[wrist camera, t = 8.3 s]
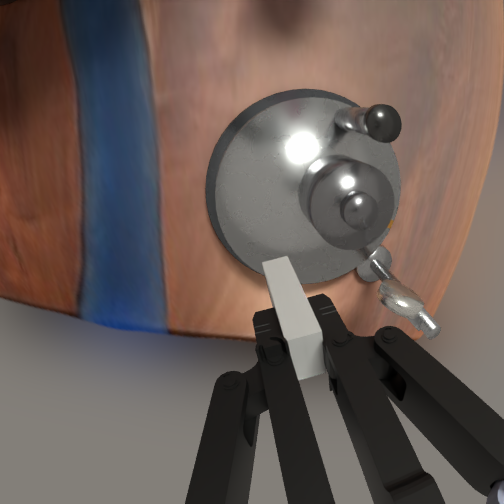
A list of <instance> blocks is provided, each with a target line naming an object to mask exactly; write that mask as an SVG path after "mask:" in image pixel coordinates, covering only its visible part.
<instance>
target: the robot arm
mask: <svg viewBox="0 0 504 504" xmlns="http://www.w3.org/2000/svg"><path fill="white" fill-rule="evenodd" d="M14 1H16V0H0V5H5V4H9V3H12V2H14ZM262 265H263V269H264V274H265V278H266V282H267V286H268V290H269V294H270V298H271V302H272V306H273V308H270V309H266V310H262V311H258V312H255V314H254V317H253V325H254V330H255V336H256V341H257V345H256V353H257V356H258V362H257V364H256V365H255V366H254V367H253V368H252V369H250V370H248V371H247V372H245V373H243V374H242V373H240V372H237V371H230V372H226V373H224V374H222V375H221V376H220V377H219V378H218V379H217V380H216V383H215V386H214V390H213V393H212V397H211V401H210V406H209V409H208V413H207V418H206V421H205V425H204V430H203V433H202V437H201V442H200V445H199V450H198V453H197V457H196V461H195V465H194V469H193V473H192V477H191V481H190V485H189V489H188V493H187V497H186V501H185V504H248V499H249V491H250V484H251V478H252V471H253V463H254V456H255V449H256V441H257V434H258V426H259V418H260V414H261V413H263V412H264V411H266V410H268V409H269V413H270V418H271V423H272V428H273V433H274V438H275V443H276V448H277V452H278V457H279V462H280V467H281V472H282V477H283V482H284V486H285V491H286V496H287V500H288V504H335V501H334V498H333V495H332V492H331V488H330V484H329V482H328V478H327V474H326V471H325V468H324V464H323V461H322V458H321V454H320V451H319V447H318V444H317V441H316V438H315V434H314V431H313V428H312V424H311V421H310V417H309V414H308V411H307V407H306V405H305V401H304V398H303V394H302V391H301V388H300V384H299V381H298V380H302V379H306V378H309V377H312V376H316V375H319V374H322V373H325V372H326V369H327V372H328V374H329V387H330V391H332V390H333V393H334V395H335V398H336V401H337V403H338V406H339V409H340V411H341V414H342V416H343V419H344V422H345V424H346V427H347V430H348V432H349V435H350V438H351V441H352V443H353V446H354V449H355V452H356V454H357V457H358V459H359V462H360V465H361V468H362V471H363V474H364V476H365V479H366V482H367V485H368V488H369V491H370V493H371V496H372V499H373V502H374V504H445V502H444V499H443V497H442V495H441V493H440V490H439V488H438V486H437V484H436V482H435V480H434V478H433V477H432V476H431V475H430V474H428V473H426V472H425V471H424V470H423V468H422V466H421V464H420V462H419V460H418V458H417V456H416V453H415V451H414V449H413V447H412V445H411V443H410V441H409V439H408V437H407V435H406V433H405V431H404V428H403V426H402V425H401V422H400V421H399V418H398V417H397V415H396V412H395V411H394V408H393V407H392V404H391V403H390V401H389V399H388V397H389V398H390V399H391V400H392V401H393V402H394V403H395V404H396V406H397V407H398V408H399V409H400V410H401V411H402V412H403V413H404V414H405V415H406V416H407V418H408V419H409V420H410V421H411V422H412V423H413V424H414V425H415V426H416V427H417V428H418V429H419V430H420V432H422V434H423V435H424V436H425V437H426V438H427V439H428V440H429V441H430V442H431V443H432V445H433V446H434V447H435V448H436V449H437V450H438V451H439V452H440V453H441V454H442V455H443V456H444V458H445V459H446V460H447V461H448V462H449V463H450V464H451V465H452V466H453V467H454V468H455V469H456V471H457V472H458V473H459V474H460V475H461V476H462V477H463V478H464V479H465V480H466V481H467V482H468V483H469V484H470V485H471V486H472V487H473V488H474V489H475V490H477V491H478V492H480V493H481V494H483V495H484V496H487V497H488V498H487V502H486V504H504V419H502V418H501V417H500V416H499V415H498V414H497V413H496V412H495V411H494V410H493V409H492V408H490V407H489V406H488V405H487V404H486V403H485V402H484V401H483V400H482V399H480V398H479V397H478V396H477V395H476V394H475V393H474V392H473V391H471V390H470V389H469V388H468V387H467V386H466V385H465V384H464V383H462V382H461V381H460V380H459V379H458V378H457V377H455V376H454V375H453V374H452V373H451V372H450V371H449V370H447V369H446V368H445V367H444V366H443V365H442V364H441V363H439V362H438V361H437V360H436V359H435V358H434V357H432V356H431V355H430V354H429V353H428V352H427V351H425V350H424V349H423V348H422V347H421V346H420V345H418V344H417V343H416V342H415V341H414V340H412V339H411V338H410V337H409V336H408V335H407V334H405V333H404V332H403V331H402V330H400V329H399V328H397V327H393V326H386V327H383V328H380V329H379V330H378V331H377V332H376V333H375V336H368V337H360V336H356V335H354V334H353V333H352V332H350V331H348V330H347V328H346V326H345V324H344V323H343V321H342V319H341V317H340V315H339V314H338V312H337V310H336V308H335V306H334V305H333V303H332V301H331V299H330V298H329V297H327V296H326V295H324V294H319V295H316V296H312V297H308V298H307V297H306V295H305V293H304V291H303V288H302V286H301V284H300V282H299V280H298V278H297V275H296V273H295V271H294V269H293V267H292V265H291V263H290V261H289V258H288V256H285V257H281V258H277V259H273V260H269V261H266V262H262ZM387 396H388V397H387Z"/></svg>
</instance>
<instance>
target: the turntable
mask: <svg viewBox="0 0 504 504" xmlns="http://www.w3.org/2000/svg"><path fill="white" fill-rule="evenodd" d="M400 131H401V118H400V116H399V114H398V112H397V111H396V110H395V109H394V108H393V107H391V106H389V105H385V104H377V105H373V106H371V107H370V108H364V107H352V106H350V105H348V104H345V103H342V102H340V101H336V100H332V99H327V98H316V97H310V98H298V99H292V100H288V101H284V102H280V103H278V104H275V105H272V106H270V107H268V108H266V109H264V110H263V111H261V112H259V113H257V114H256V115H255V116H253V117H252V118H251V119H249V120H248V121H247V122H246V123H245V124H244V125H243V126H242V127H241V128H240V129H239V130H238V131H237V133H236V134H235V135H234V137H233V138H232V139H231V141H230V142H229V144H228V146H227V148H226V150H225V151H224V154H223V156H222V159H221V161H220V164H219V168H218V172H217V177H216V187H215V200H216V211H217V216H218V221H219V224H220V226H221V229H222V232H223V234H224V236H225V238H226V240H227V242H228V244H229V245H230V246H231V248H232V249H233V251H234V252H235V253H236V254H237V255H238V256H239V258H240V259H241V260H242V261H243V262H245V263H246V264H247V265H248V266H250V267H251V268H252V269H254V270H255V271H257V272H259V273H260V274H262V275H264V276H265V274H264V269H263V265H262V262H266V261H269V260H273V259H277V258H281V257H285V256H288V258H289V261H290V263H291V265H292V267H293V269H294V271H295V273H296V275H297V278H298V280H299V282H300V284H312V283H319V282H324V281H328V280H331V279H334V278H337V277H339V276H341V275H344V274H346V273H348V272H350V271H351V270H353V269H354V268H356V267H358V266H359V265H360V264H362V263H363V262H364V261H365V260H367V259H368V258H369V257H370V256H371V255H372V254H373V253H374V252H375V251H376V249H377V248H378V247H379V246H380V245H381V243H382V242H383V240H384V239H385V237H386V236H387V234H388V232H389V230H390V228H391V226H392V224H393V222H394V219H395V216H396V213H397V209H398V205H399V199H400V172H399V167H398V162H397V159H396V156H395V153H394V151H393V148H392V146H391V144H390V142H392V141H394V140H395V139H396V138H397V137H398V136H399V134H400ZM336 154H337V155H346V156H349V157H351V158H354V159H356V160H359V161H361V162H364V163H366V164H369V165H371V166H374V167H375V168H377V169H379V170H380V171H381V172H382V173H383V174H384V175H385V176H386V177H387V178H388V180H389V182H390V184H391V186H392V189H393V192H394V199H395V202H394V212H393V216H392V218H391V221H390V223H389V225H388V227H387V228H386V230H385V231H384V232H383V234H382V235H381V236H380V237H379V238H378V239H377V240H375V241H374V242H373V243H371V244H369V245H367V246H365V247H363V248H360V249H355V250H344V249H339V248H336V247H334V246H332V245H330V244H329V243H327V242H326V241H325V240H324V239H323V238H322V237H321V235H320V234H319V233H318V232H317V230H316V229H315V228H314V227H313V225H312V224H311V223H310V222H309V220H308V219H307V218H306V217H305V215H304V214H303V212H302V210H301V207H300V204H299V197H298V195H299V186H300V183H301V180H302V177H303V175H304V174H305V172H306V171H307V169H308V168H309V167H310V166H311V165H312V164H313V163H315V162H316V161H317V160H319V159H321V158H323V157H325V156H329V155H336Z"/></svg>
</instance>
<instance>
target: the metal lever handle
mask: <svg viewBox="0 0 504 504" xmlns="http://www.w3.org/2000/svg"><path fill="white" fill-rule="evenodd" d="M391 262H392V258H391V254H390V252H389V251H388V250H387V249H386V248H385V247H384V246H382V245H380V246H379V247H378V248H377V249H376V251H375V252H374V253H373V254H372V255H371V256H370V257H369V258H368V259H367V260H365V261H364V262H363V263H362V264H360V265H359V266H358V267H356V268H355V270H356V272H357V274H358V275H359V276H360V277H361V278H362V279H363V280H364V281H367V282H373V281H377V280H379V279H380V280H381V281H382V284H381V285H380V287H379V289H378V291H377V293H376V295H377V298H378V299H379V301H380V302H381V303H382V304H383V305H384V306H385V307H387V308H388V309H389V310H391V311H392V312H394V313H396V314H398V315H400V316H402V317H405V318H407V319H408V320H409V321H410V322H411V323H412V324H413V325H414V327H415V328H416V329H417V330H418V331H420V330H422V331H423V332H424V334H425V335H426V336H427V338H428V339H433V338H435V337H436V336H437V335H438V334H439V333H440V331H441V328H440V326H439V325H438V324H437V323H436V321H435V320H434V319H433V318H432V317H431V316H430V315H429V313H428V312H427V311H426V310H425V309H424V308H423V306H424V302H423V300H422V299H421V298H420V296H419V295H417V294H416V293H415V292H414V291H413V290H411V289H410V288H408V287H407V286H405V285H403V284H401V282H400V281H399V280H398V279H397V278H396V277H395V276H394V275H393V274H392V273H391V272H390V271H389V269H390V266H391Z"/></svg>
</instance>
